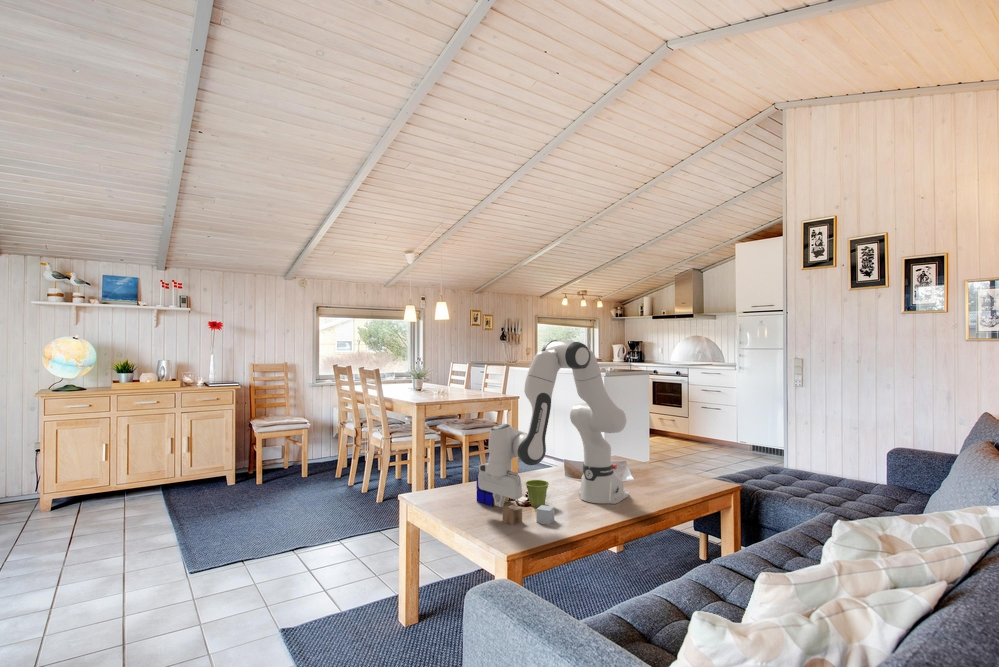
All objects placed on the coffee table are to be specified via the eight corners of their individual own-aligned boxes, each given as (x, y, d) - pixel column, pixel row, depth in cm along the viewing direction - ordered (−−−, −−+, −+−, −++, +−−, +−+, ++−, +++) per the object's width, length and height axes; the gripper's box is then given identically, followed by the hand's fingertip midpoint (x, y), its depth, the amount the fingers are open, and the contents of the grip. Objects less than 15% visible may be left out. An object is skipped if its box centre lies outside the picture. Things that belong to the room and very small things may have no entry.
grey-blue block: (541, 518, 192) (541, 504, 192) (554, 520, 190) (554, 506, 190) (536, 522, 188) (536, 508, 188) (549, 524, 186) (549, 510, 186)
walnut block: (512, 505, 192) (522, 508, 189) (512, 518, 192) (522, 521, 189) (502, 508, 189) (512, 511, 185) (502, 521, 189) (512, 525, 185)
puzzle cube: (476, 501, 212) (476, 477, 212) (493, 496, 219) (493, 472, 219) (493, 507, 205) (493, 481, 205) (510, 501, 212) (510, 477, 212)
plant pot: (542, 509, 202) (542, 487, 202) (521, 505, 207) (521, 484, 207) (552, 503, 210) (552, 481, 210) (532, 499, 215) (532, 478, 215)
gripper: (526, 472, 188) (525, 510, 187) (487, 462, 203) (487, 498, 202) (513, 475, 183) (513, 514, 183) (475, 465, 198) (475, 501, 198)
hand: (499, 505), depth 193 cm, fingers closed
